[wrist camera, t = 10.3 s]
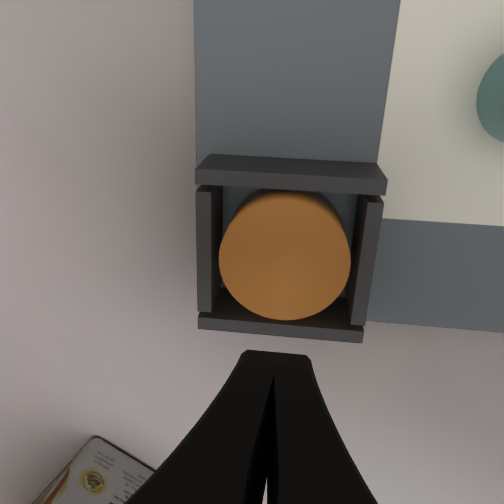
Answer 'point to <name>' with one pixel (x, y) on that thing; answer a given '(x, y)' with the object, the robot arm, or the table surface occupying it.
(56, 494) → the coffee box
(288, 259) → the button
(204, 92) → the slate board
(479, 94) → the teal bottle
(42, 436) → the table surface
